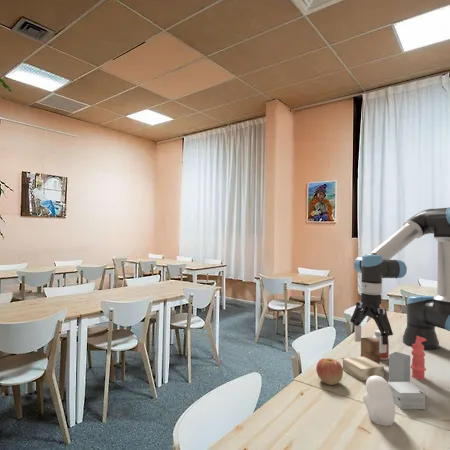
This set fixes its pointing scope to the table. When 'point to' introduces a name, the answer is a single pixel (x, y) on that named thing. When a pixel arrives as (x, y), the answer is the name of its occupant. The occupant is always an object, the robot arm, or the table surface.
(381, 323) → the robot arm
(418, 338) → the figurine
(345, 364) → the birch base
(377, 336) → the pill bottle
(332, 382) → the apple
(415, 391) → the small box
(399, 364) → the slate pillar
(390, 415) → the figurine
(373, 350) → the walnut pillar
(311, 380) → the table surface
